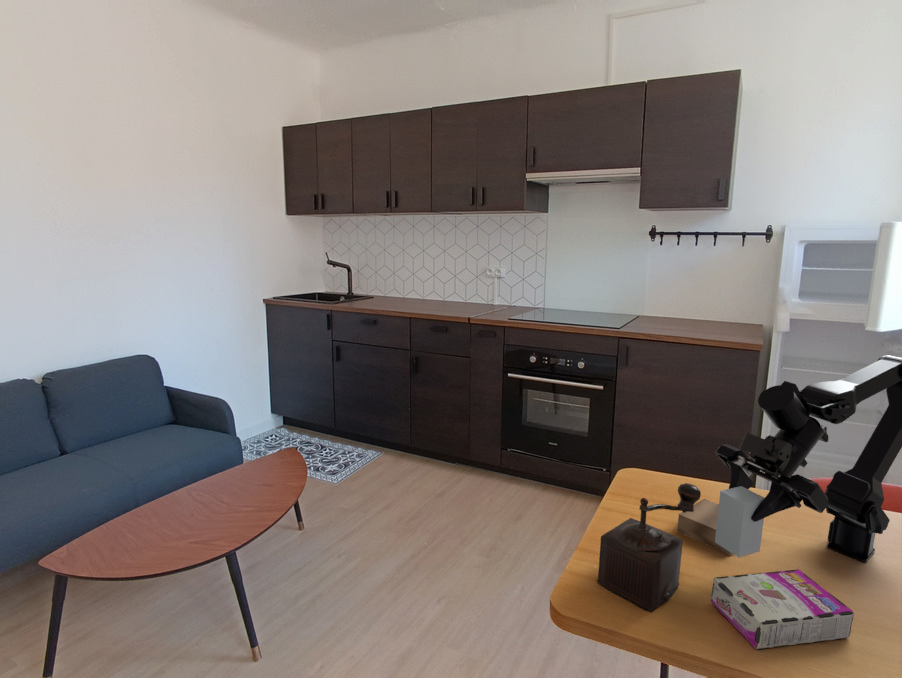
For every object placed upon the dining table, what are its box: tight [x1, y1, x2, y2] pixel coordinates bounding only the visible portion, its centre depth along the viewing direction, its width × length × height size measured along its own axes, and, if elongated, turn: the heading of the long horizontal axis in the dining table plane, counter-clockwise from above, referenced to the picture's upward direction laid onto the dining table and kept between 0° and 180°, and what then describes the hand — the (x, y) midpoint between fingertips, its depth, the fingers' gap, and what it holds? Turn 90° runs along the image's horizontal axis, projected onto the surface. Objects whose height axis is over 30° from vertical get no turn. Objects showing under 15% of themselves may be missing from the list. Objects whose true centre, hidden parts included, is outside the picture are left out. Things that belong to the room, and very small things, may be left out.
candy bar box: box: [710, 568, 855, 650], centre depth 87 cm, size 11×5×16 cm
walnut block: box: [676, 498, 733, 556], centre depth 112 cm, size 11×11×4 cm
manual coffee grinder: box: [597, 482, 701, 613], centre depth 95 cm, size 16×11×18 cm
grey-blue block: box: [715, 486, 765, 558], centre depth 95 cm, size 5×5×10 cm
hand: (739, 512), depth 94 cm, fingers closed on grey-blue block, 5 cm apart
